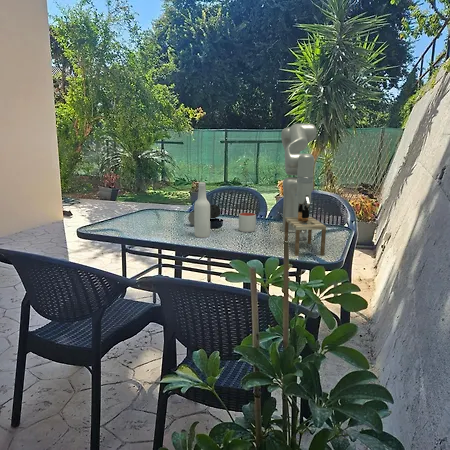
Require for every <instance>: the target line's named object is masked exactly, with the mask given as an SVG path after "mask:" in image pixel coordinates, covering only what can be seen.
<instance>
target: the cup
mask: <svg viewBox="0 0 450 450" xmlns="http://www.w3.org/2000/svg"><path fill="white" fill-rule="evenodd" d="M256 225H257V214H256V213H253V212H241V213H239V214H238V230H239V231H240V232H242V233H253V232H255V231H256V229H257V228H256Z"/></svg>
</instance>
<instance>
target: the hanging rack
mask: <svg viewBox="0 0 450 450" xmlns="http://www.w3.org/2000/svg"><path fill="white" fill-rule="evenodd" d="M289 224H290V225H291V226H293V227H294V228H295V229H296V232H295V238H294V239H295V243H294V256H295V257H299V255H300V241H299V238H300V230H307V242H306V243H307V245H311V244H312V235H313V232H312V231H313V230H315V231H316V230H321V235H320V236H321V239H320V251H319V252H320V256H325V251H326V250H325V249H326V237H327V236H326V235H327V226H326V225H325V224H323V223H321V221H319V220H317V219H316V218H314V217H312V216H309V218H308V221H305V225H302V221H298V217H285V232H284V237H283V238H284V239H283V241H284V242H285V241H288V242H289V232H288V225H289ZM284 242H283V243H284Z"/></svg>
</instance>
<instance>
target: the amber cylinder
mask: <svg viewBox="0 0 450 450" xmlns="http://www.w3.org/2000/svg"><path fill="white" fill-rule="evenodd" d="M298 221H302V225H306V223H305V221H308V218H302V211H301V212H298ZM305 241H308V230H300V238H299V242H305Z"/></svg>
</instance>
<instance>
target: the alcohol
mask: <svg viewBox="0 0 450 450" xmlns="http://www.w3.org/2000/svg"><path fill="white" fill-rule="evenodd" d="M197 186H198V193H197V200H195V202H194V206H193V208H194V209H193V210H194V225H193V226H194V237H195V238H198V239H199V238H200V239H204V238H205V239H206V238H209V237H210V236H211V221H210V205H211V203H210V202H209V200H208V199H207V190H206V188H207V187H206V182H205V181H204V182H203V181H202V182H201V181H200V182H198V185H197Z"/></svg>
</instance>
